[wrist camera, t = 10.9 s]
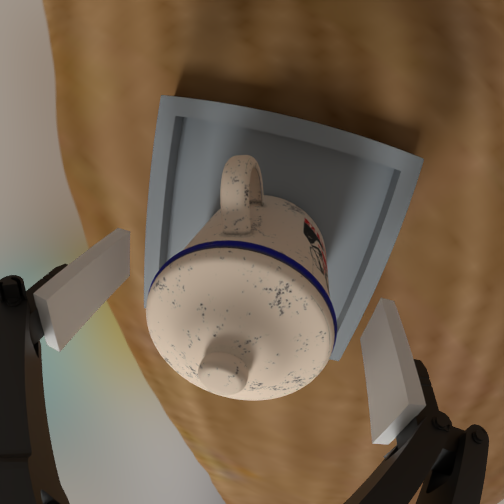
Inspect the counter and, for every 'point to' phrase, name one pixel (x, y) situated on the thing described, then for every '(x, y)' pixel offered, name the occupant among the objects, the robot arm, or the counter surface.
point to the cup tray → (281, 189)
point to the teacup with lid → (246, 296)
